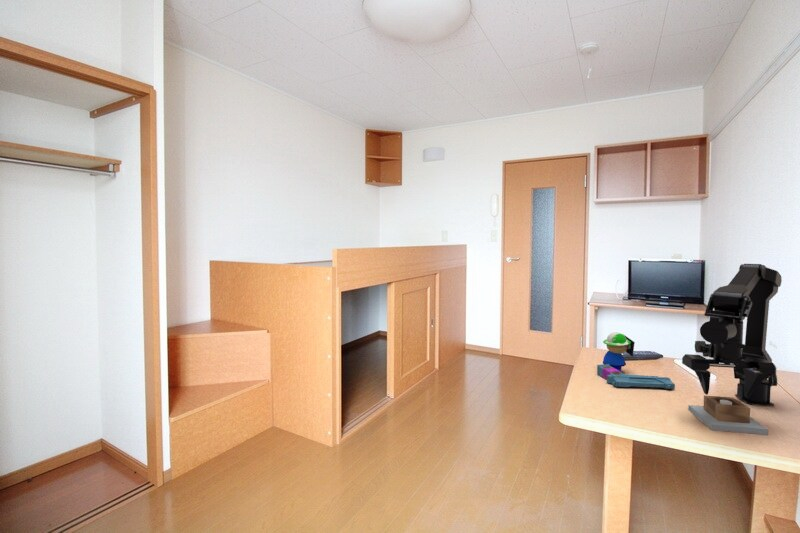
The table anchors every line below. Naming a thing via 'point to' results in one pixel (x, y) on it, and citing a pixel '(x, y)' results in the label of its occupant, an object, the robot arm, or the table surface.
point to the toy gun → (632, 378)
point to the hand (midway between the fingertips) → (725, 395)
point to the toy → (617, 349)
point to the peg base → (727, 426)
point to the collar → (726, 409)
